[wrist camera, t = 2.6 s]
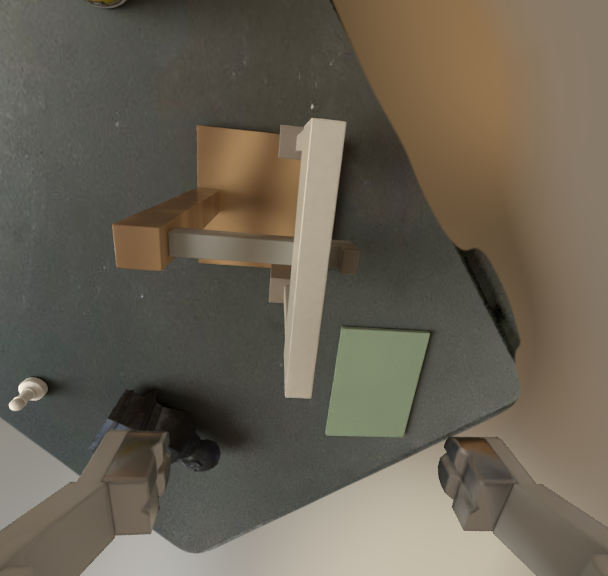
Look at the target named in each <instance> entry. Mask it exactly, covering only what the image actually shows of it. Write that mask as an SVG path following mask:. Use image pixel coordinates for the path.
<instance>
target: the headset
mask: <svg viewBox="0 0 608 576" xmlns="http://www.w3.org/2000/svg"><path fill="white" fill-rule="evenodd" d="M346 124H347V123H346V122H345V121H337V120H328V119H320V118H311V119H310V120H309V122H308V123H307V124H306V125H305V126H304V127H299V126H290V125H280V139H279V154H278V157H279V158H285V159H294V160H301V166H300V177H299V189H298V200H297V211H296V223H295V234H294V245H293V257H292V265H282V264H271V276H270V292H269V302H277V303H284V318H285V347H284V376H285V397H287V398H311V397H312V389H313V381H314V373H315V365H316V358H317V350H318V342H319V334H320V327H321V319H322V311H323V303H324V295H325V288H326V280H327V272H328V264H329V256H330V249H331V241H332V233H333V225H334V218H335V210H336V202H337V194H338V186H339V179H340V171H341V163H342V155H343V147H344V140H345V132H346Z"/></svg>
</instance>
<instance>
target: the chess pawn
mask: <svg viewBox="0 0 608 576" xmlns="http://www.w3.org/2000/svg"><path fill="white" fill-rule="evenodd" d="M18 390H19V393H20V395H19V397H15V398H14V399H13V400H12V401H11V402H10V403H9V408H10V409H11V410H13V411H19V410H21V409H22V408H23V407H24V406H25V405H26V404H27V401H29V400H33V401H34V400H39V399H41V398H42V397H43V396H44V395H45V394H46V393H47V391H48V387H47V385H46V383H45V382H44V381H43V380H41V379H39V378H35V377H30V378H27V379H25V380H24V381H23V382H22V383H21V384H20V385H19V388H18Z"/></svg>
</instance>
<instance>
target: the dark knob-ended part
mask: <svg viewBox="0 0 608 576" xmlns="http://www.w3.org/2000/svg"><path fill="white" fill-rule="evenodd" d="M157 392H158V390H157V389H156V390H154V391H151V392H149V393H148V394H146V395H145V396H140V395H138V394H136V393H134V390H131V391H129V390H125V392H124V393H123V395H122V397H121V398H120V399H119V401H118V403H117V405H116V406H115V408H113V410H112V412H111V414H110V415H109V417H108V418H107V420H106V422H105V423H104V425H103V426H102V428H101V429H100V431H99V432H98V435H97V436H96V438H94V440H93V442H92V443H91V445H90V447H89V449H92V450H93V452H94V453H95V451H96V450H97V448H98V446H99V445H100V443H101V441H102V440H103V438H104V436H105V435H106V434H107V433H108V432H109V431H110V430H111V429H114V430H145V431H167V432H169V437H170V443H169V446H168V449H167V451H168V452H169V453H170V454H171V464H172V463H174V462H178V461H180V462H181V463H182V464H183V465H185V466H186V467H187V468H189V469H193V470H194V471H195V472H196V471H201V472H204V471H208V470H210V469H212V468H214V466H216V465H217V464H218V462H219V459H220V457H221V453H220V448H219V446H218V445H217V443H216V442H214V441H212V440H208V439H207V440H200V437H199V436H198V435H197V433H196V431H195V429H194V427H193V426H192V422H191V419H190V416H189V413H188V412H184V411H179V410H175V409H170V408H165V407H162V406H161V405H160V404H158V403H157V401H156V395H157Z"/></svg>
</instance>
